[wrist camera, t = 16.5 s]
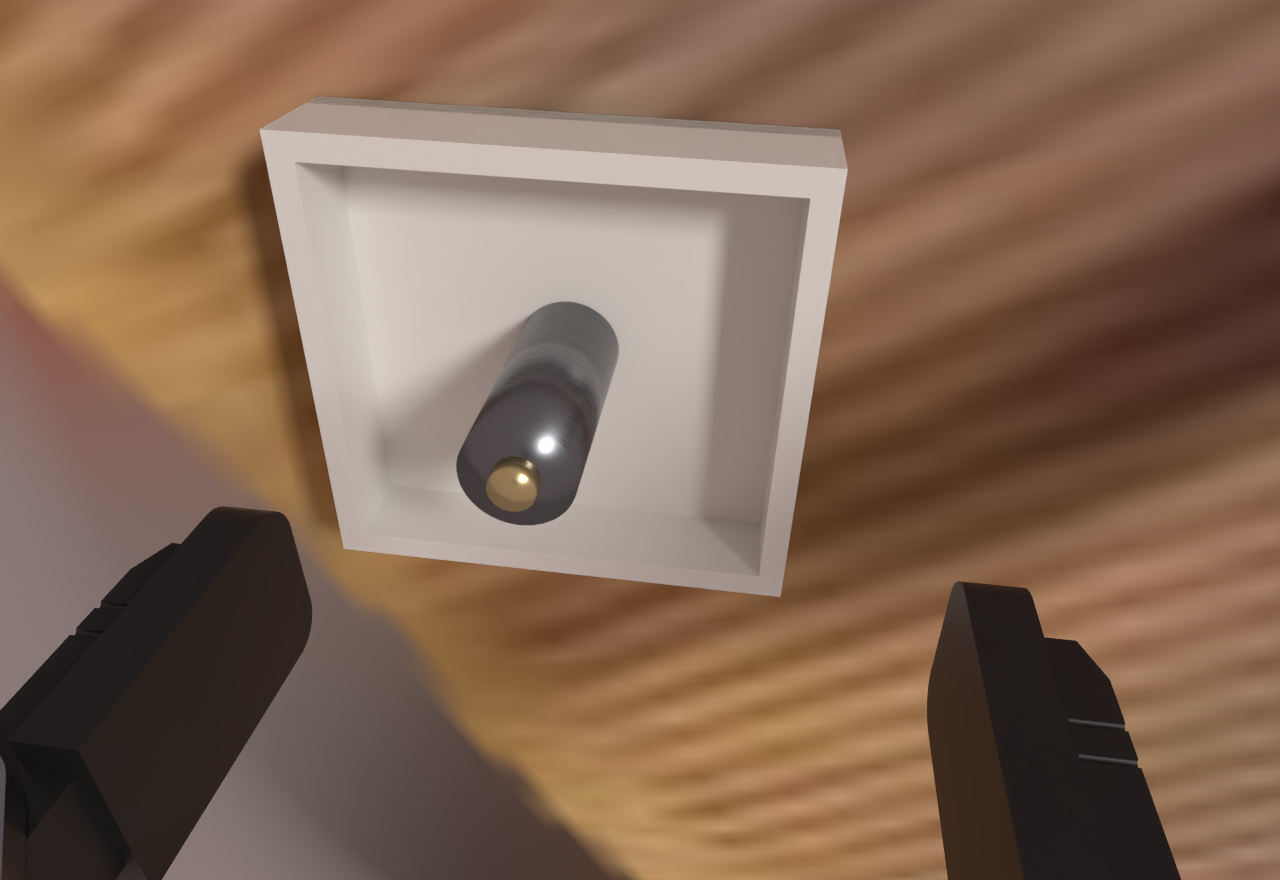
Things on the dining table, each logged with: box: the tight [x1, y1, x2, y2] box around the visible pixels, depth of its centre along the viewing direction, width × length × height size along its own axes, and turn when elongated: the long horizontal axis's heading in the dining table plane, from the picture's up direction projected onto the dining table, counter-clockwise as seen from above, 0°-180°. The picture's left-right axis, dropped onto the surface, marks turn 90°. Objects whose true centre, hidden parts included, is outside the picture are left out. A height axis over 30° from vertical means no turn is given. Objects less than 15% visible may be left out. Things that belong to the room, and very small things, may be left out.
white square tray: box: [260, 96, 848, 597], centre depth 36 cm, size 19×18×4 cm
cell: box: [456, 301, 619, 526], centre depth 33 cm, size 4×4×10 cm
